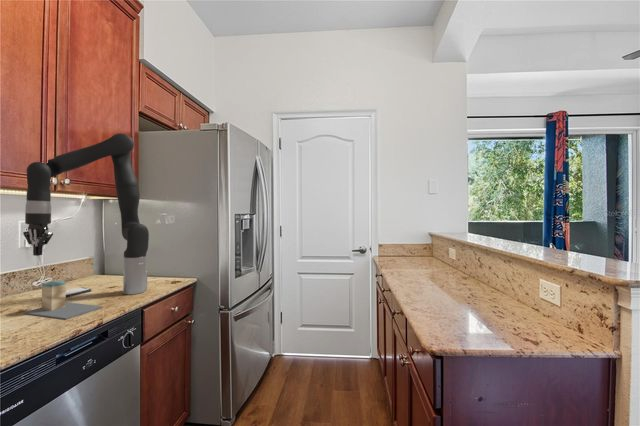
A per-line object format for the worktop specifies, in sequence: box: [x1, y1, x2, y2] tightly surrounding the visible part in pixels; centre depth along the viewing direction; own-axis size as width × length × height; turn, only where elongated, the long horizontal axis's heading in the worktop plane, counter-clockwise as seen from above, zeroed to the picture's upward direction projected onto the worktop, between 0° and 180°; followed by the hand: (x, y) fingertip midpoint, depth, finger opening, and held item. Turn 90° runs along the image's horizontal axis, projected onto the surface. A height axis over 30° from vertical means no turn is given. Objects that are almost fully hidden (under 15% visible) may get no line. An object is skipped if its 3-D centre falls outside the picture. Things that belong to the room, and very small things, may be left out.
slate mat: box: [22, 301, 104, 320], centre depth 115 cm, size 14×21×1 cm, turn 77°
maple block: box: [41, 280, 67, 311], centre depth 116 cm, size 5×5×10 cm
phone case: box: [66, 286, 92, 298], centre depth 137 cm, size 9×2×16 cm
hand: (37, 255), depth 118 cm, fingers closed
